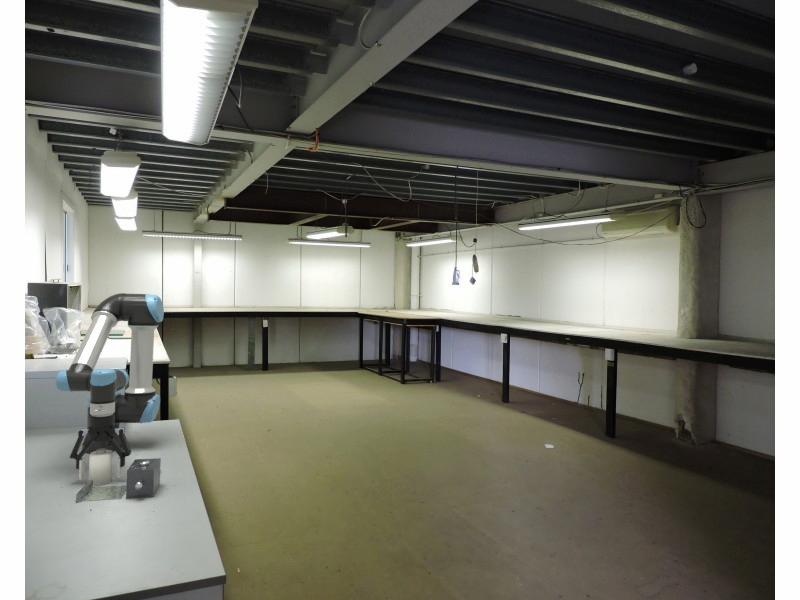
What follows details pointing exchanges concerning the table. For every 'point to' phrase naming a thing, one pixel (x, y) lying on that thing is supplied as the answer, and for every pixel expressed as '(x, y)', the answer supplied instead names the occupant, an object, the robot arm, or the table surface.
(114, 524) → the table surface
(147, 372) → the robot arm
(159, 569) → the table surface
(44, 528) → the table surface
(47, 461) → the table surface
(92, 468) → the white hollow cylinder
